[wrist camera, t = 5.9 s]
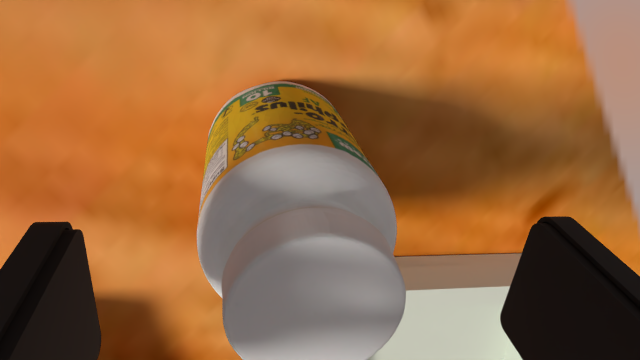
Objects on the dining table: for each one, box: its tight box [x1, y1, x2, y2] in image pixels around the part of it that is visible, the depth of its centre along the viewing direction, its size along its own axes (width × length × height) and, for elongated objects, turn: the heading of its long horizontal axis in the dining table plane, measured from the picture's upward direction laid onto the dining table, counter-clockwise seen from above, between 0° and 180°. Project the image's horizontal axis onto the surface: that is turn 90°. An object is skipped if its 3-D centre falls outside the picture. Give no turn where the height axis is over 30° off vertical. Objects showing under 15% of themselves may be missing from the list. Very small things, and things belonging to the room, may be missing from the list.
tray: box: [367, 253, 523, 360], centre depth 24 cm, size 11×11×2 cm
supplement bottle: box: [197, 81, 406, 360], centre depth 14 cm, size 5×5×10 cm
